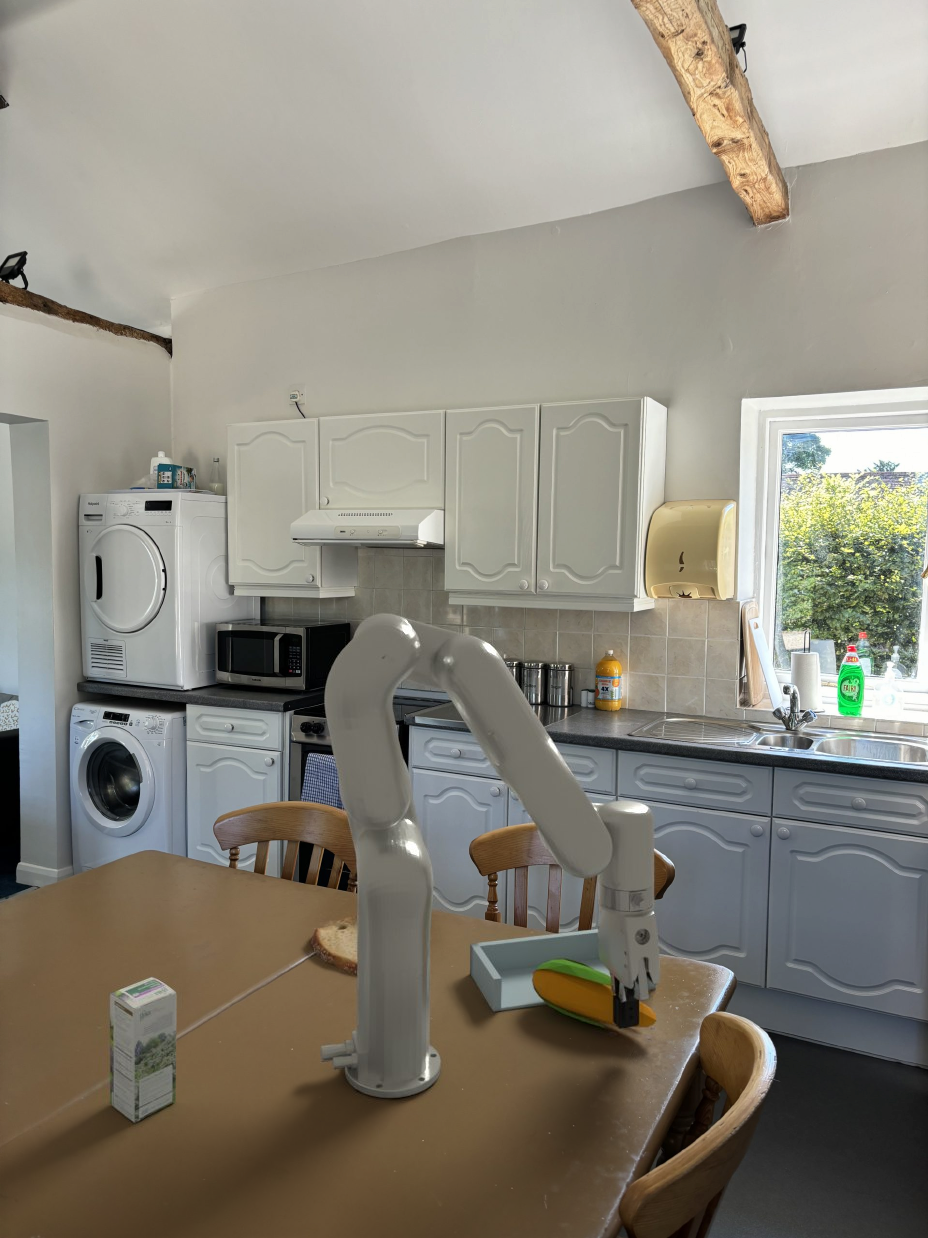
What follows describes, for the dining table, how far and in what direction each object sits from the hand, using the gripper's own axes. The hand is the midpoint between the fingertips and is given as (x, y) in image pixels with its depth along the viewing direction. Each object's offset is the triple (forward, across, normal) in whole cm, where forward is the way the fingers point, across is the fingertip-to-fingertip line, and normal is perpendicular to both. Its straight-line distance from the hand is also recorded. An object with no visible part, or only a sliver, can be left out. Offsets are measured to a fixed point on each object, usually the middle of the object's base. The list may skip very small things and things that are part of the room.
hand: (626, 1024), depth 119 cm
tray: (+4, +21, +1) cm, 21 cm away
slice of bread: (+4, +40, +30) cm, 51 cm away
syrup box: (+3, +5, +63) cm, 63 cm away
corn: (+4, +9, +1) cm, 10 cm away
